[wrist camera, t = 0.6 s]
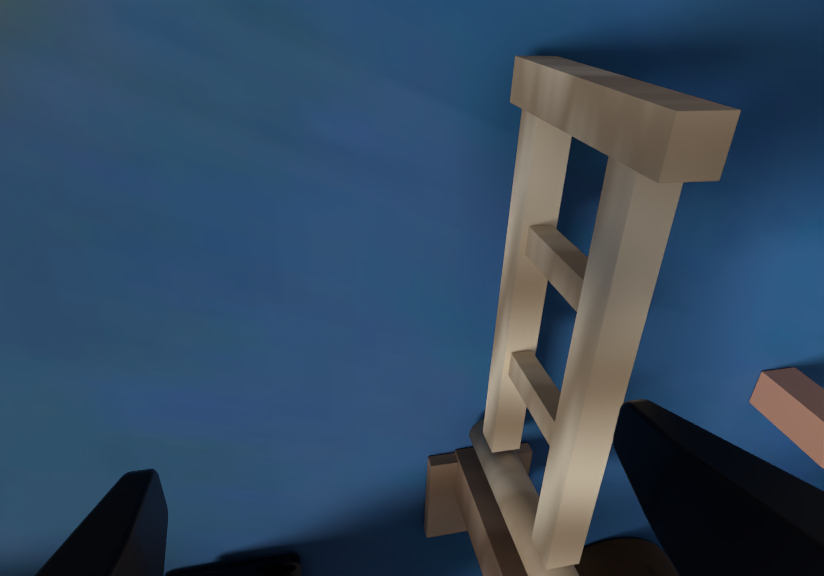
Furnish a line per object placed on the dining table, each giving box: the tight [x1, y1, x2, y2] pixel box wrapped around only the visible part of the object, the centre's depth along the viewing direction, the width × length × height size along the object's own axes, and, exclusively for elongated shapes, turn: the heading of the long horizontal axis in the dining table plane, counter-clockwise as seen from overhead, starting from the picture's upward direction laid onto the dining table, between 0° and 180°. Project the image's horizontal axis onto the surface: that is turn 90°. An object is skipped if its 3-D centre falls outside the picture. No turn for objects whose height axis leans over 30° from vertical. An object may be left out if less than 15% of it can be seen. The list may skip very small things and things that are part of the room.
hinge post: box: [424, 443, 533, 576], centre depth 24 cm, size 5×5×10 cm
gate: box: [469, 56, 741, 576], centre depth 18 cm, size 17×2×8 cm, turn 179°
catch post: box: [749, 367, 824, 469], centre depth 27 cm, size 2×2×6 cm
